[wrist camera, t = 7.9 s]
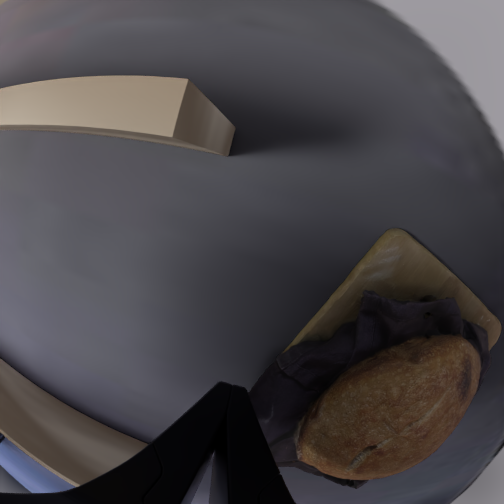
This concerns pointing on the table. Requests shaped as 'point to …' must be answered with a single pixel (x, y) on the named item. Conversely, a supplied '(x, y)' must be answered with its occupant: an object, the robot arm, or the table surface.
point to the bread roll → (378, 368)
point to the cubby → (114, 125)
